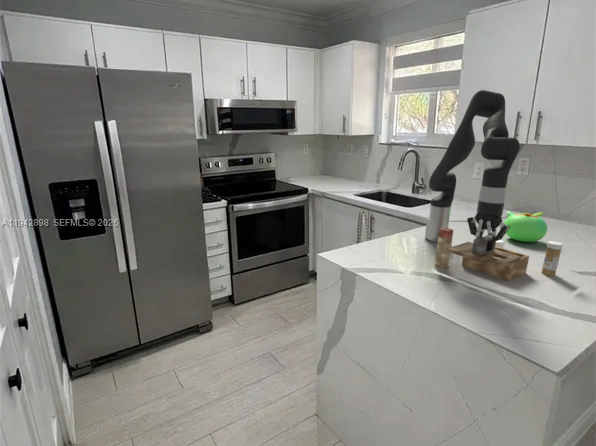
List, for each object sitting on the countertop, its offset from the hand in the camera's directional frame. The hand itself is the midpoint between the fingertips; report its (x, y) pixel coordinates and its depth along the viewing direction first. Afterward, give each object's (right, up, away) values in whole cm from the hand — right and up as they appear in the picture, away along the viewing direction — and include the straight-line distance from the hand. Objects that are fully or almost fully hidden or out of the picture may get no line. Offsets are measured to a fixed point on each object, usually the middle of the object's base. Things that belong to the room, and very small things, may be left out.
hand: (483, 249), depth 120 cm
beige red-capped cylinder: (-6, -9, +19) cm, 22 cm away
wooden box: (+12, -10, +17) cm, 23 cm away
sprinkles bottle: (+31, -11, +13) cm, 35 cm away
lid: (0, -2, +1) cm, 2 cm away
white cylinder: (+22, -5, +34) cm, 41 cm away
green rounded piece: (+48, 0, +54) cm, 72 cm away
